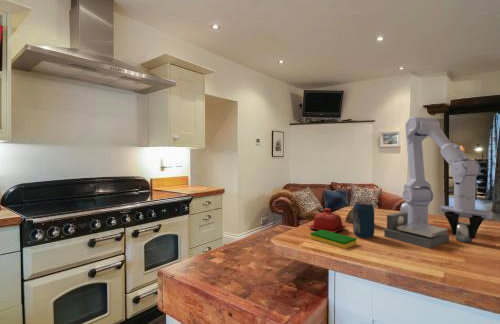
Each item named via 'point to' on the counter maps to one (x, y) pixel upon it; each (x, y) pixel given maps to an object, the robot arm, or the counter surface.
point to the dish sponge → (333, 238)
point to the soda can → (363, 219)
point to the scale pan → (422, 229)
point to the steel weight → (463, 232)
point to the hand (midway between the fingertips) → (463, 236)
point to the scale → (408, 237)
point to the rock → (351, 215)
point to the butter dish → (327, 221)
